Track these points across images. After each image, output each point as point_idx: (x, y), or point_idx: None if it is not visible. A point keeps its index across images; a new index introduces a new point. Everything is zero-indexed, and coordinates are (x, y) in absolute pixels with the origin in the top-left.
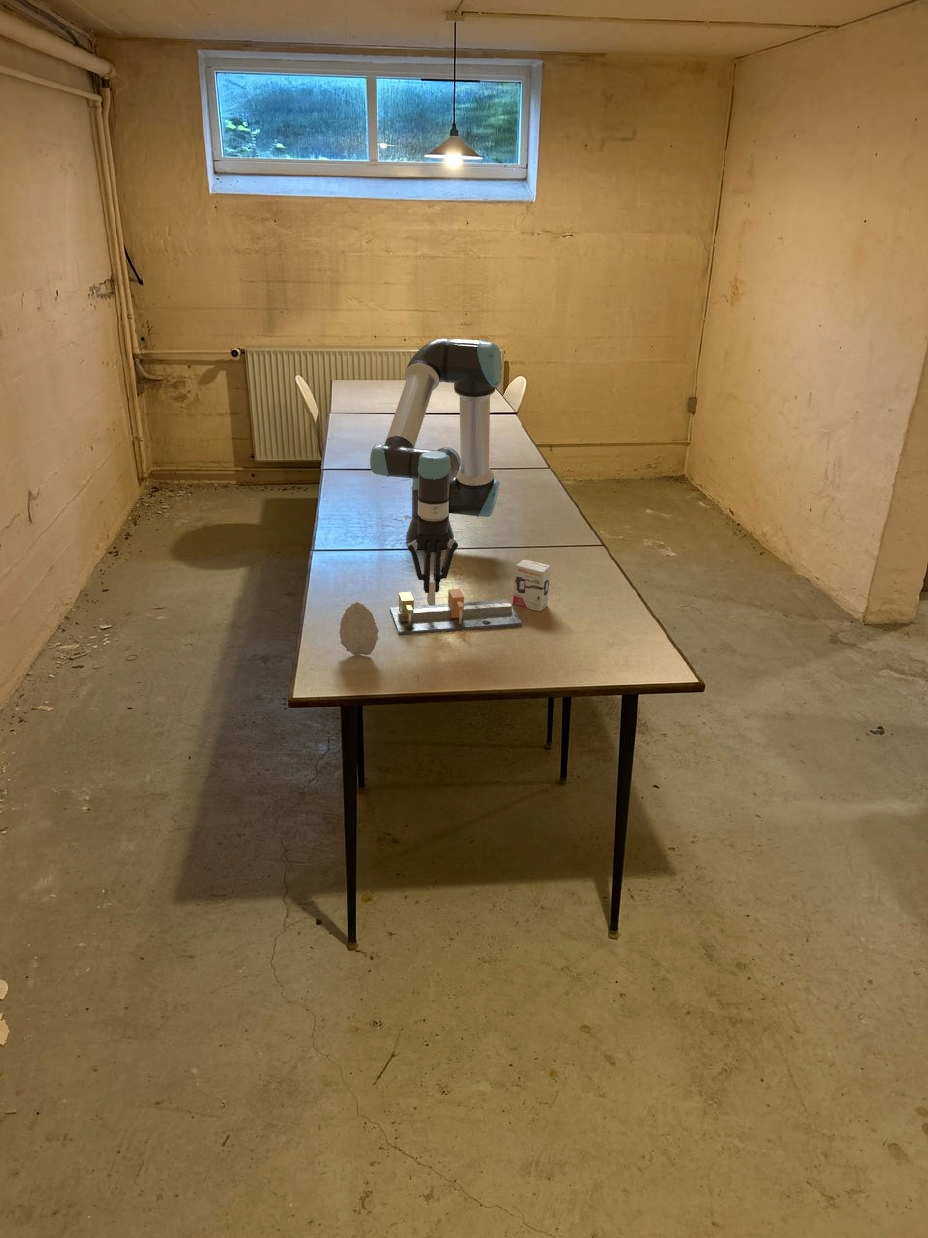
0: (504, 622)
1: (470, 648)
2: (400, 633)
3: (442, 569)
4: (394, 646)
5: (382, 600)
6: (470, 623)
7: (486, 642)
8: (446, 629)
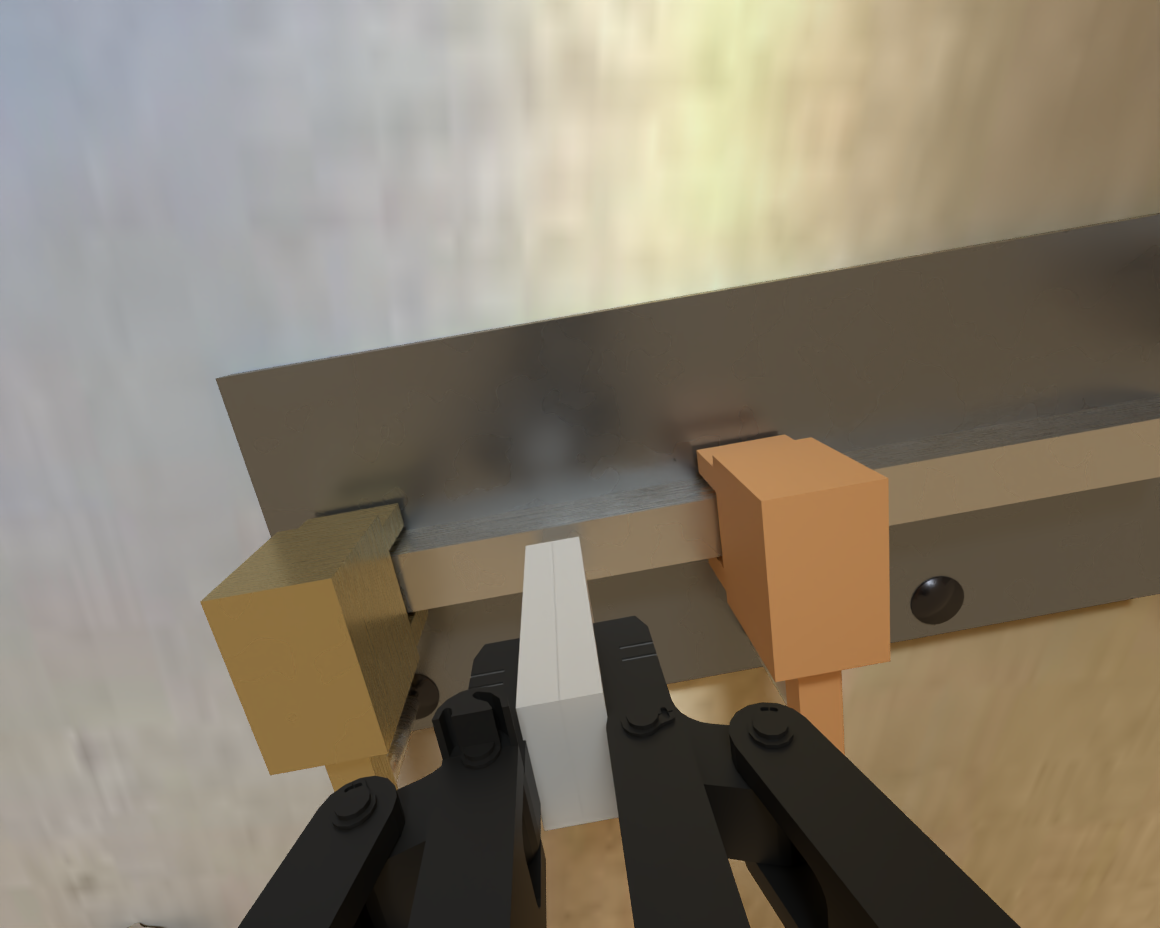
0: (1054, 593)
1: None
2: None
3: (792, 826)
4: None
5: (118, 151)
6: None
7: (868, 767)
8: None
